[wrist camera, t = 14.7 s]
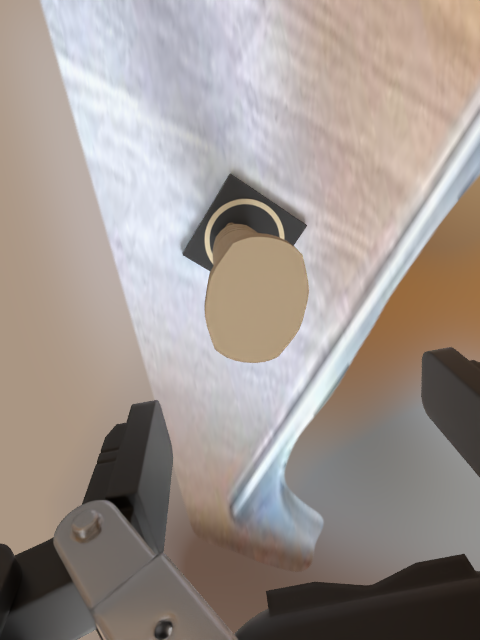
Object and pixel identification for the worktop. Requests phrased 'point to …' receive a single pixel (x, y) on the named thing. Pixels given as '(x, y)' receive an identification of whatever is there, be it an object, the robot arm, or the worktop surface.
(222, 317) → the handle
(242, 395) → the worktop surface
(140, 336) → the worktop surface
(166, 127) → the worktop surface
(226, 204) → the slate board
